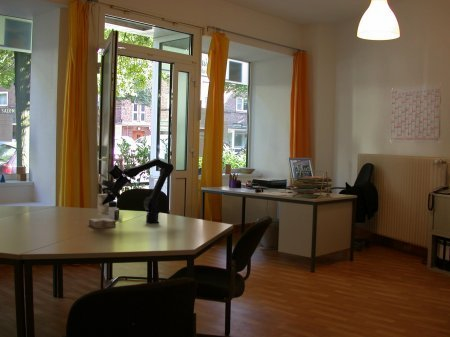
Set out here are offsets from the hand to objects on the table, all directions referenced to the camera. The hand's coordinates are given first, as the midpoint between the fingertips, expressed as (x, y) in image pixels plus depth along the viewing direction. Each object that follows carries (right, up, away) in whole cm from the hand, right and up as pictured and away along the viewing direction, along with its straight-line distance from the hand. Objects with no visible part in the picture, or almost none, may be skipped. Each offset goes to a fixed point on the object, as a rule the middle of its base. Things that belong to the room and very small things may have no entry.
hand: (100, 203), depth 279 cm
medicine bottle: (+1, -12, +24) cm, 27 cm away
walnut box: (0, -14, +2) cm, 14 cm away
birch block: (+1, -7, +1) cm, 7 cm away
